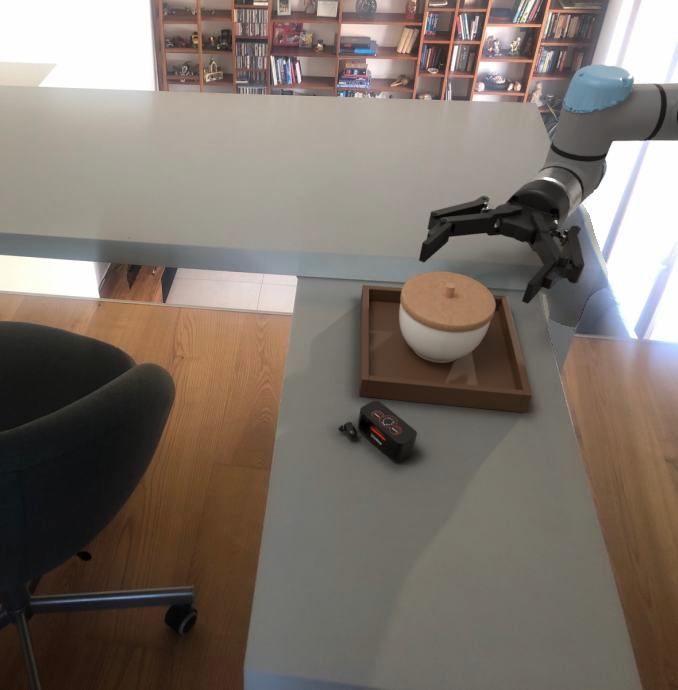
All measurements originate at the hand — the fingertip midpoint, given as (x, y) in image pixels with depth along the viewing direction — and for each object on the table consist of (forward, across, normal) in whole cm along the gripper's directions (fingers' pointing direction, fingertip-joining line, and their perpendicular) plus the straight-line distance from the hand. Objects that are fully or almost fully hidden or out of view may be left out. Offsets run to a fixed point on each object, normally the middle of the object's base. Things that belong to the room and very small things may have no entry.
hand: (473, 272), depth 85 cm
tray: (+6, 0, -9) cm, 11 cm away
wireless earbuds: (+24, -2, -9) cm, 26 cm away
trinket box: (+6, 0, -8) cm, 10 cm away
